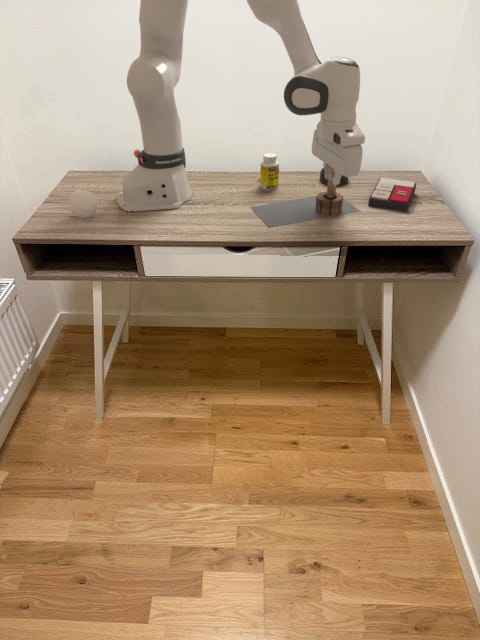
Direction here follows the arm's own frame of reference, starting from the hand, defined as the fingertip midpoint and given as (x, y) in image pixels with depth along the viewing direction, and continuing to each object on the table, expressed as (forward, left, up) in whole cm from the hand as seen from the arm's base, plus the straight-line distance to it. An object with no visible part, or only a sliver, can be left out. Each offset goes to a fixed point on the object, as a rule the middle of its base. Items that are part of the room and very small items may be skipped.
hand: (331, 181), depth 132 cm
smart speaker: (+12, +19, -9) cm, 24 cm away
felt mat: (-6, +3, -9) cm, 11 cm away
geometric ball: (-65, +22, -9) cm, 69 cm away
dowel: (0, 0, -4) cm, 4 cm away
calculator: (+21, 0, -9) cm, 23 cm away
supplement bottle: (-9, +22, -9) cm, 26 cm away
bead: (0, 0, -8) cm, 8 cm away
